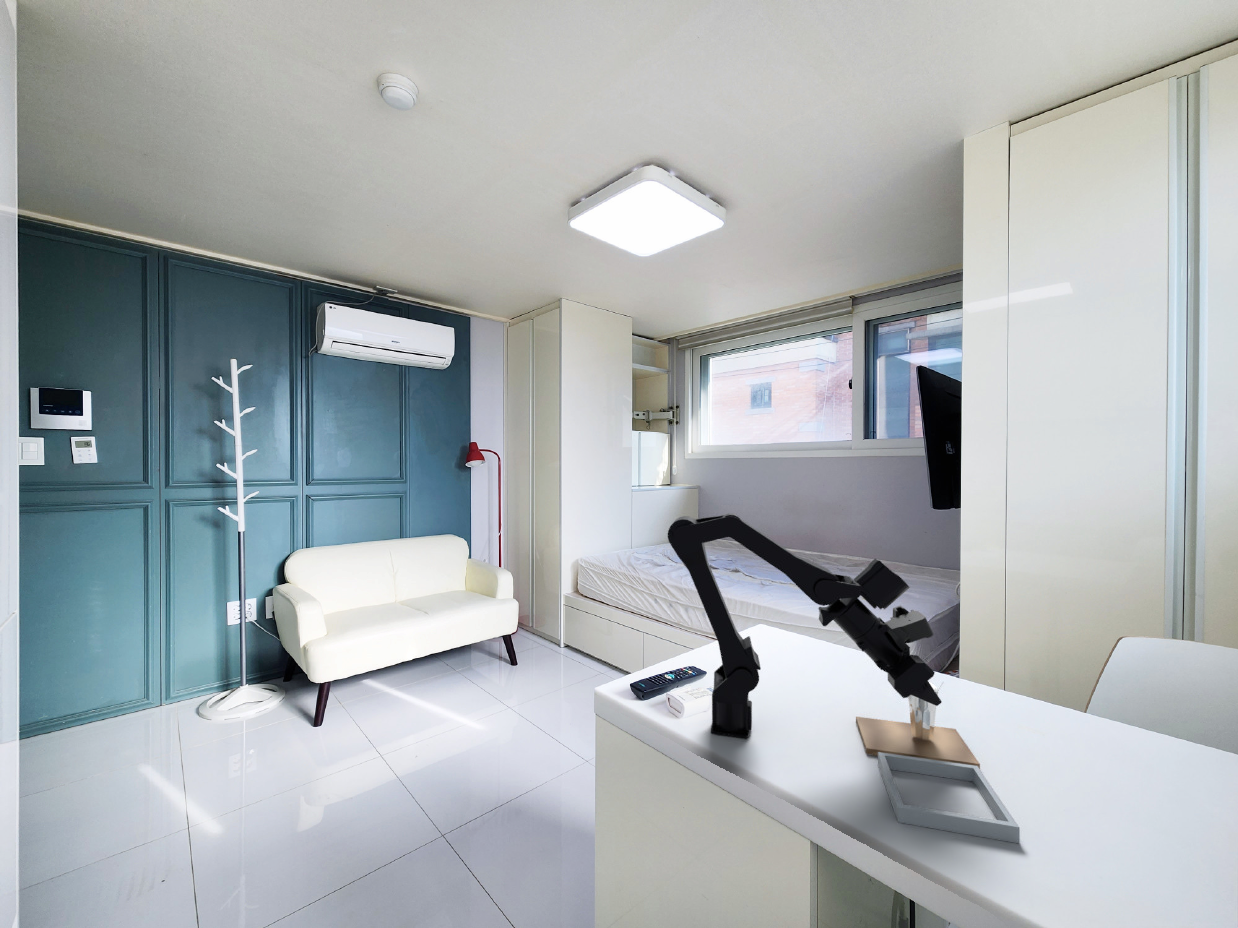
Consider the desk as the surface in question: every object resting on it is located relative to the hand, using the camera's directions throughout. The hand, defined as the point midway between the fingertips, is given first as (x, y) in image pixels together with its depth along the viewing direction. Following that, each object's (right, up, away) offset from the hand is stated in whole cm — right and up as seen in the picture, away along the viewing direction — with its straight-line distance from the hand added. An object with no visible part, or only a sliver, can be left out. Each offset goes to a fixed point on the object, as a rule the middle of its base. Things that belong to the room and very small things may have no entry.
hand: (933, 697), depth 86 cm
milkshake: (-1, -7, 0) cm, 7 cm away
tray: (-7, -8, -14) cm, 18 cm away
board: (-3, -8, +1) cm, 9 cm away
